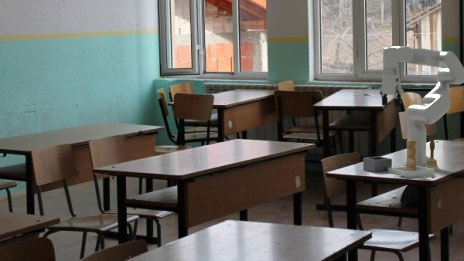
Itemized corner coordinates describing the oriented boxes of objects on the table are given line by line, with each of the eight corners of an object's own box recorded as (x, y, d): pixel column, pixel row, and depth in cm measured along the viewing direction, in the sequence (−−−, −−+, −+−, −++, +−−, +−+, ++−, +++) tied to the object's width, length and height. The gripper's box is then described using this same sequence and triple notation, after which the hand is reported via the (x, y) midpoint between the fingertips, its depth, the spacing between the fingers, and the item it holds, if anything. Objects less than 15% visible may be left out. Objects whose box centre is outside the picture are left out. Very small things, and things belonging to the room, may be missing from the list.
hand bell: (421, 169, 439) (421, 138, 437) (437, 169, 440) (437, 137, 438) (426, 172, 431) (426, 140, 429) (442, 171, 431) (443, 139, 430)
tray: (416, 171, 433) (416, 165, 432) (434, 175, 420) (434, 169, 420) (388, 174, 425) (388, 168, 425) (405, 178, 413) (405, 171, 413)
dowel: (412, 172, 426) (412, 140, 424) (417, 173, 422) (418, 141, 420) (404, 173, 424) (405, 140, 422) (410, 174, 420) (410, 141, 418)
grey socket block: (380, 170, 438) (380, 156, 437) (391, 173, 429) (391, 158, 428) (363, 171, 434) (363, 157, 433) (374, 174, 425) (374, 160, 424)
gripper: (408, 72, 432) (408, 106, 434) (385, 71, 447) (385, 104, 449) (396, 72, 429) (396, 107, 431) (373, 71, 444) (374, 105, 446)
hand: (390, 105), depth 440 cm, fingers open, 9 cm apart
